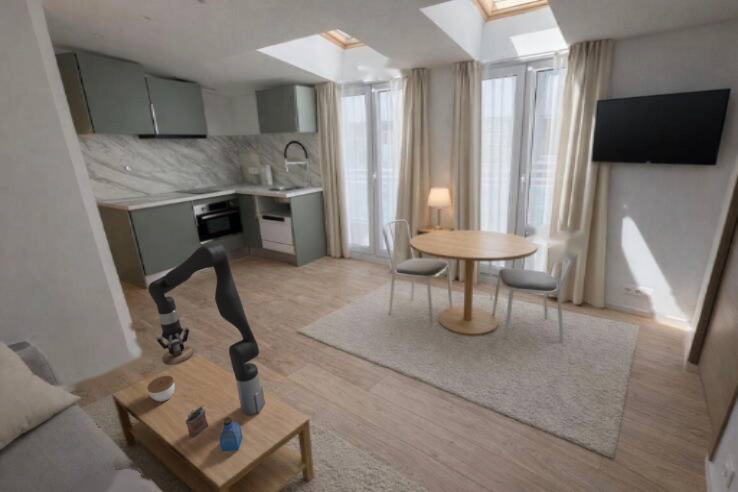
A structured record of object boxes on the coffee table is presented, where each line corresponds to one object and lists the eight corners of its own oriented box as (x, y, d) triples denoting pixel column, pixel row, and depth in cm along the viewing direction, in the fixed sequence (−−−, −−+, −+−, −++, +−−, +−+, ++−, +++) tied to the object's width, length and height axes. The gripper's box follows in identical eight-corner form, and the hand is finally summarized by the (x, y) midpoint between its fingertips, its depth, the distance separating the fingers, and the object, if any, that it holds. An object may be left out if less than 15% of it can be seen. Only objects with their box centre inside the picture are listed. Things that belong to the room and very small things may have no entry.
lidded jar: (181, 389, 172) (177, 372, 169) (167, 405, 162) (163, 388, 159) (160, 388, 173) (156, 372, 171) (145, 404, 163) (140, 387, 160)
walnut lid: (199, 349, 174) (196, 336, 171) (181, 366, 161) (177, 352, 159) (175, 347, 176) (172, 334, 174) (155, 363, 164) (152, 350, 162)
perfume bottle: (226, 438, 143) (221, 414, 139) (242, 437, 144) (238, 413, 140) (221, 452, 137) (216, 427, 134) (238, 450, 138) (233, 425, 134)
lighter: (192, 439, 144) (187, 419, 141) (187, 435, 145) (182, 415, 142) (210, 425, 150) (205, 406, 147) (205, 422, 152) (200, 403, 149)
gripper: (184, 311, 170) (191, 343, 175) (150, 321, 161) (158, 354, 167) (188, 317, 164) (195, 349, 169) (153, 328, 156) (161, 362, 161)
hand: (177, 352), depth 168 cm, fingers closed on walnut lid, 3 cm apart
